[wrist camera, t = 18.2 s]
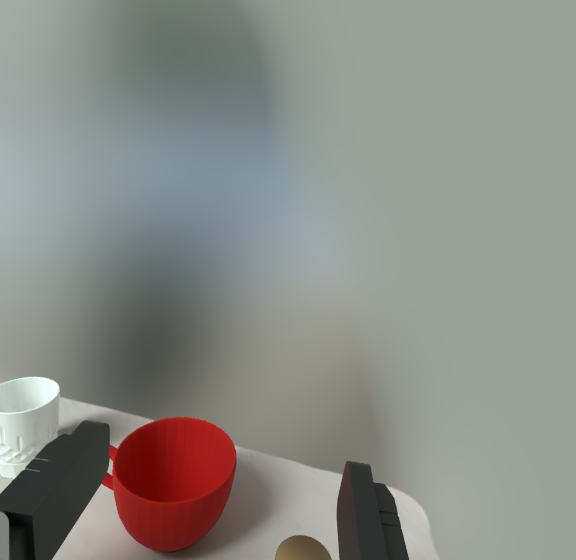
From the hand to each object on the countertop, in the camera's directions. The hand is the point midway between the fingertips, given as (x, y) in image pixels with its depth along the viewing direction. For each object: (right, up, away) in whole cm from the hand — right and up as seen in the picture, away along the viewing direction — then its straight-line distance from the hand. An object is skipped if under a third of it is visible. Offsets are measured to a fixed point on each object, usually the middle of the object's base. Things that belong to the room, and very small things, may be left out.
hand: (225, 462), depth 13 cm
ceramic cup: (-13, -22, +33) cm, 42 cm away
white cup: (-32, -18, +38) cm, 53 cm away
